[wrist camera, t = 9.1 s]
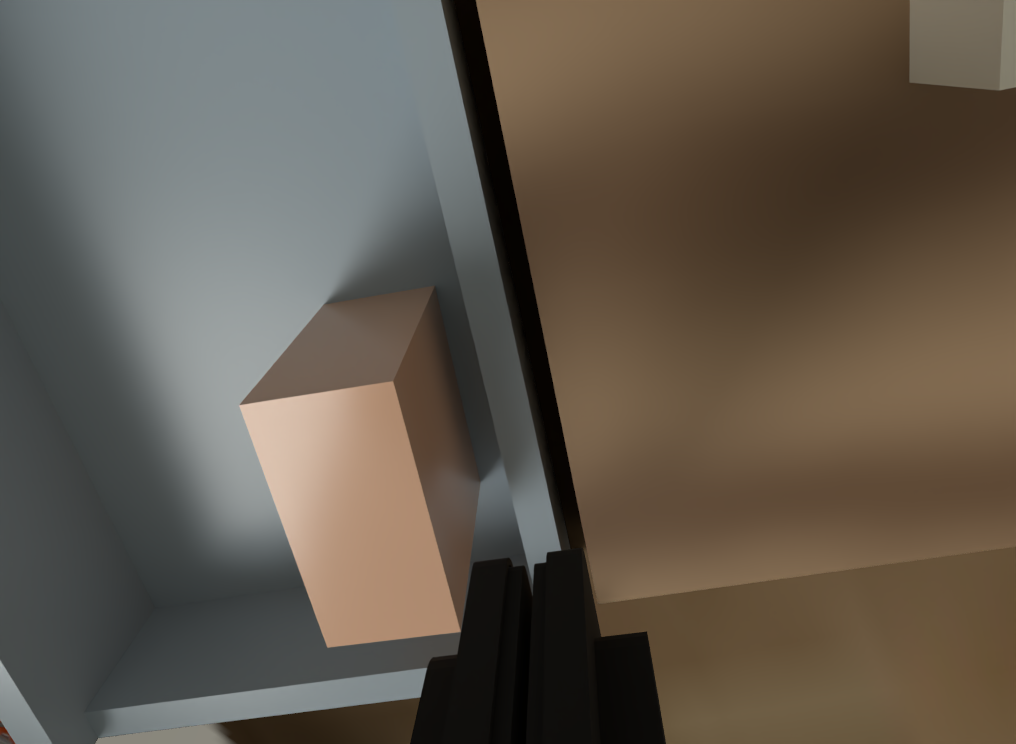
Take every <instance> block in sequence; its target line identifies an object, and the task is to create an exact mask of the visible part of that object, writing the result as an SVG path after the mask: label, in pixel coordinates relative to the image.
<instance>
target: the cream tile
mask: <svg viewBox="0 0 1016 744" xmlns="http://www.w3.org/2000/svg"><path fill="white" fill-rule="evenodd" d="M909 83H920V84H931V85H943V86H954V87H965V88H976V89H988V90H999V91H1000V90H1004V89H1009V88H1014V87H1016V0H910V71H909Z"/></svg>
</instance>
